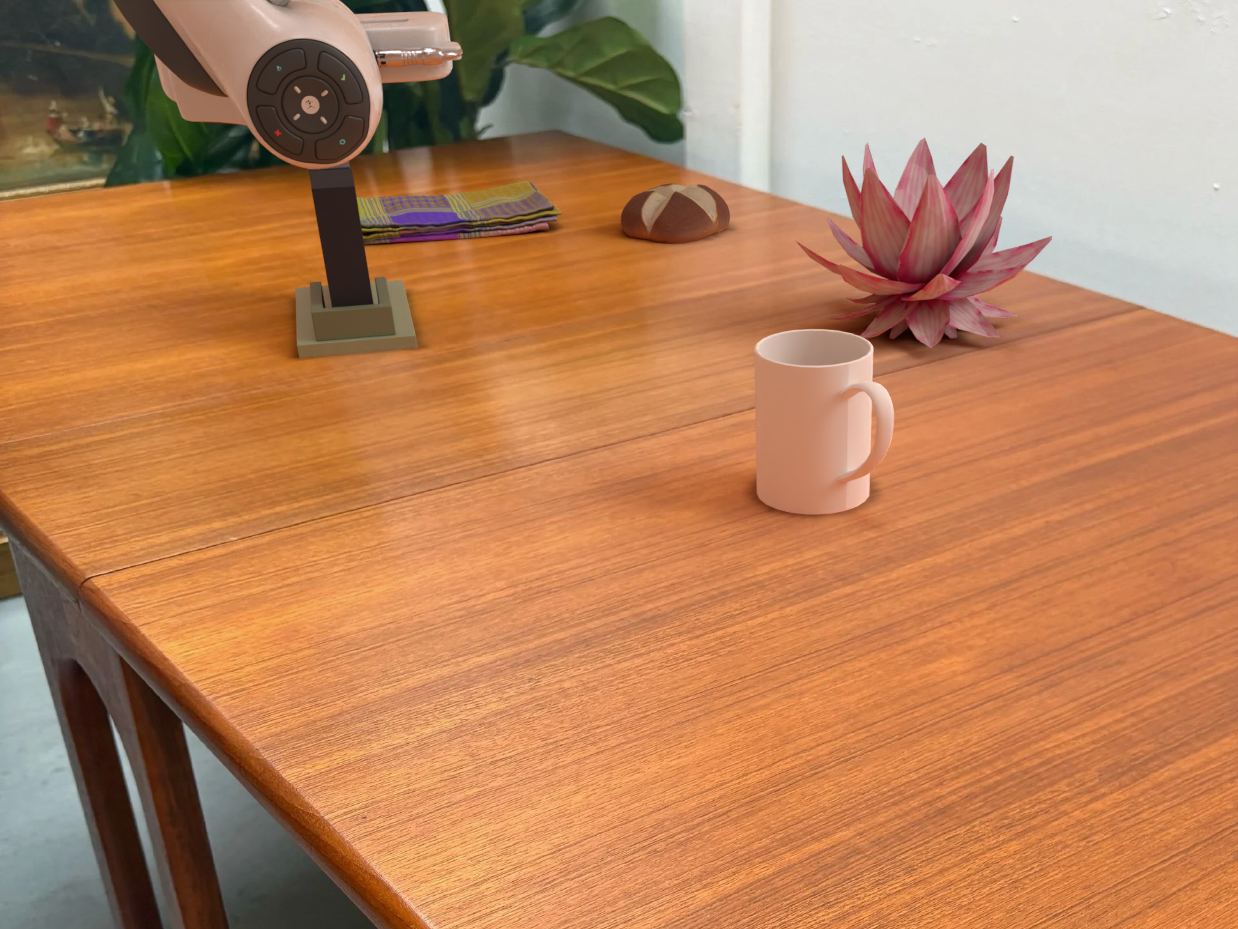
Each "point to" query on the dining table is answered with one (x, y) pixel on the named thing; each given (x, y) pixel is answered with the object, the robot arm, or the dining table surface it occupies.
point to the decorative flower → (929, 247)
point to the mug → (817, 420)
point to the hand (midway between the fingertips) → (304, 34)
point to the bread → (675, 214)
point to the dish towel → (456, 215)
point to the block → (341, 237)
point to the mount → (353, 318)
